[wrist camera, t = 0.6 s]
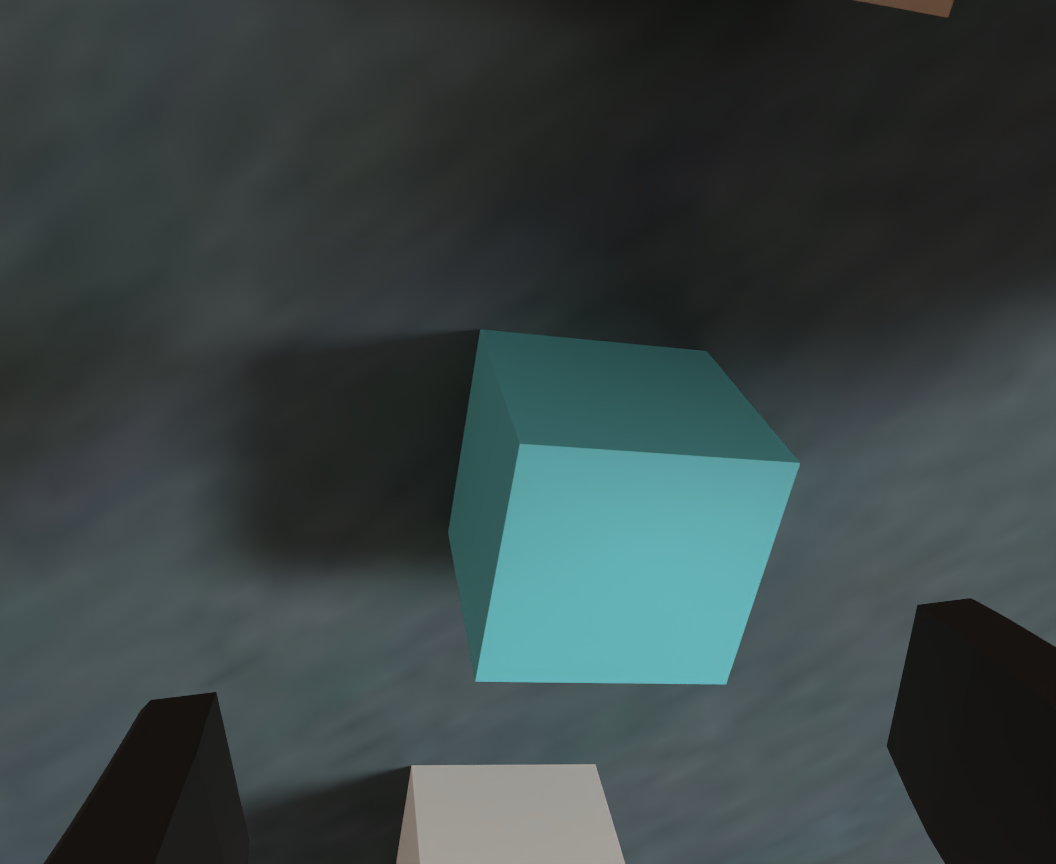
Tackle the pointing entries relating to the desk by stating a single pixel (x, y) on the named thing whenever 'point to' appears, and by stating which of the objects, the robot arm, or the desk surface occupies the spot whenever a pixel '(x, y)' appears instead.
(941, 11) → the walnut block
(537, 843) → the white block
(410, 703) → the desk surface
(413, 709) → the desk surface
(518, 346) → the teal block
